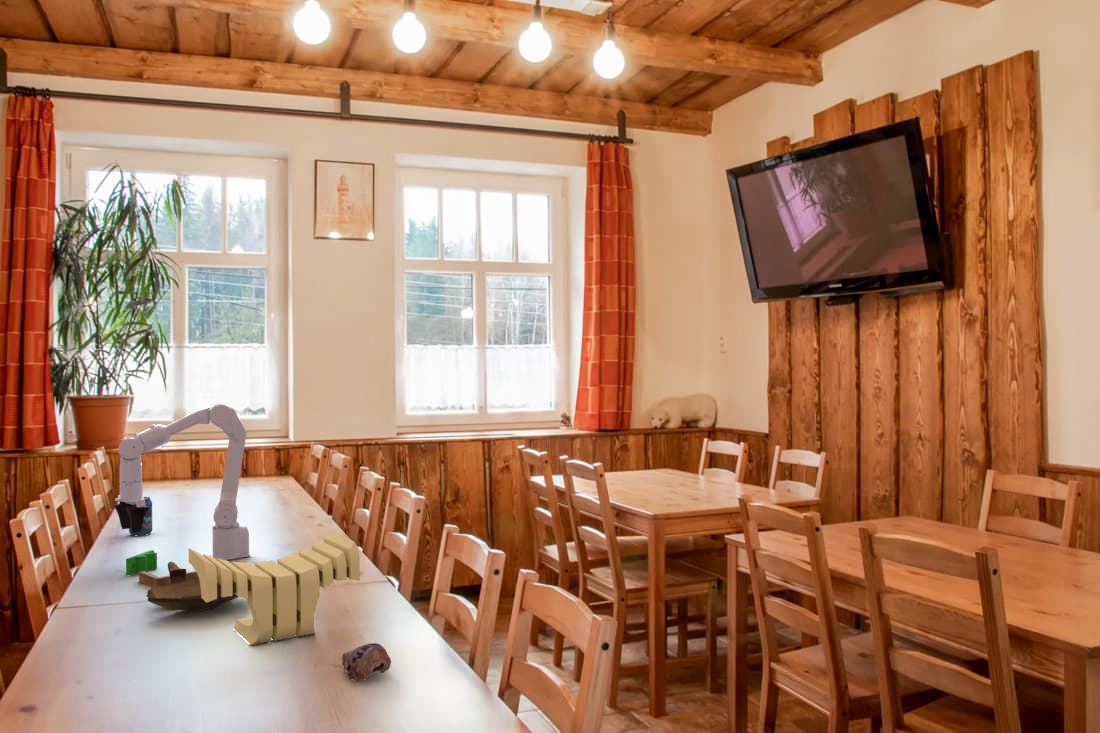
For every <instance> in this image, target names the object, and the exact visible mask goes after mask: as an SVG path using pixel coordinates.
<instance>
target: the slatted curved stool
mask: <svg viewBox="0 0 1100 733" xmlns="http://www.w3.org/2000/svg"><path fill="white" fill-rule="evenodd" d="M323 540H324V541H322V540H318V541H317V542H316V543H313V544H312V545H311V548H309V547H306V548H304V549H302V550H300V551H299V552H298V554H296V553H293V554H290V555H288V556H285V557H282V558H278V559H277V560H276V561H275V560H269V561H267V560H266V561H263V562H262V561H261V562H259V561H258V562H254V564H253V563H251V562H239V561H238V562H237V561H229V560H222V559H218V561H217V560H216V559H215V558H213V557H211V556H209V554H208V555H207V554H201V553H200V552H199V551H196V550H194V549H191V548H188V564H190V565H191V566H192V567H193V570H194V571H196V572H197V574H198V577H199V580H200V586H201V598H202V599H203V600H204V601H205V602H206V603H207V602H210V601H212V600H215V599H217V595H220V596H221V597H227V596H233V593H234V594H235V595H237V596H239V597H240V598H243V599H246V603H247V604H248V606H249V609H250V611H251V612H250V613H251V615H252V617H246V618H238V619H236V622H235V624H234V625H233V627H232V629H233V628H234V629H235V630H236V631H237V632H238V633H239V634H240V635H242V636H243V638H245V639H246V640H247V641H248V642H249V643H250V644H251V645H250V646H253V645H259V644H265V643H269V642H271V641H272V640H271V638H272V639H273V640H274V641H273V642H276V641H281V639H282V640H286V639H287V638H288V639H292V638H294V637H296V636H297V638H298V637H304V635H305V636H310V635H315V634H316V631H315V624H314V623H315V621H314V620H315V612H316V609H317V605H318V601H319V599H320V595H321V594H320V593H321V592H320V588H322V589H325V588H327V587H328V586H330V585H331V584H333V583H334V580H335V581H337V582H339V581H346V580H347V579H349V580H350V581H351V580H353V581H360V580H361V579H360V578H361V576H360V574H361V570H360V567H361V566H360V562H361V561H360V560H361V559H360V553H359V548H358V546H357V543H355V541H353V540H351V539H349V538H347V537H345V536H342V535H340V534H338V533H335V532H334V531H333V532H331V533H329V534H328V535H326V536H325V537H324V538H323ZM239 597H238V598H239ZM295 635H296V636H295ZM264 642H265V643H264ZM258 643H259V644H258ZM252 644H253V645H252Z"/></svg>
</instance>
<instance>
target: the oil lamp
mask: <svg viewBox="0 0 1100 733" xmlns="http://www.w3.org/2000/svg"><path fill="white" fill-rule="evenodd" d="M167 570H168V574H169V575H170V580H171V584H168V585H164V586H160V587H156V588H153V587H151V588H150V589H149V590H147V594H146V595H145V597H147V602H149V603H150V604H154V605H155V606H159V607H162V608H165V609H170V610H174V611H181V612H195V611H202V610H208V609H213V608H217V607H220V606H222V605H224V604H227V603H229V602H232V601H234V600H236V599H237V598H239V596H237V595H235V594H234V593H233V596H227V597H221V596H220V595H217V599H215V600H212V601H210V602H207V603H206V602H205V601H204V600H203V599H202V598H201V586H200V580H194V581H188V580H187V579H186V573H187V568H180V567H179V566H178V565H177V564H176V562H173V561H169V562H168V563H167ZM169 575H168V576H169Z"/></svg>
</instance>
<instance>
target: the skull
mask: <svg viewBox="0 0 1100 733" xmlns="http://www.w3.org/2000/svg"><path fill="white" fill-rule="evenodd" d="M341 659H342V665H343V666H344V668H343V670H344V669H345V671H343V674H345V675H346V676H348V677H349V680H351V679H353V680H352V681H354V680H357V681H363V680H364V679H366V680H367V679H368V678H369V677H370V676H373V675H374V674H375V673H376V672H380V673H383V674H384V673H385V672H387V671H388V670H389V669H390V668H391V664H392V660H391V657H390V655H389V654H388V652H387V649H386V648H385V647H384V646H383V645H382V644H380V643H378V642H370V643H367V644H363V645H360V646H358V647H356V648H355V649H353V650H349V651H346V652H343V653H342V658H341ZM343 666H342V667H343ZM364 681H365V680H364Z"/></svg>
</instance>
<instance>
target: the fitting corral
mask: <svg viewBox="0 0 1100 733" xmlns="http://www.w3.org/2000/svg"><path fill="white" fill-rule="evenodd" d="M186 579H187V580H188V581H194V580H199V577H198V574H197V572H196V570H193V571H186ZM138 582H139V583H141V582H142V584H143V583H144V585H146V586H148V587H150V586H151V587H150V588H156V587H160V586H164V585H168V584H171V580H170V575H165V576H158V575H155V574H152V573H150V572H145V571H141V572H139V573H138Z"/></svg>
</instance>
